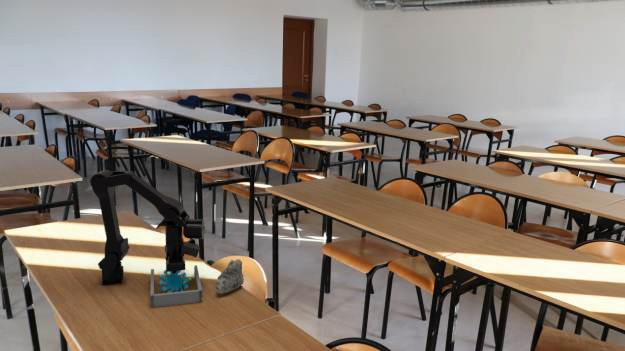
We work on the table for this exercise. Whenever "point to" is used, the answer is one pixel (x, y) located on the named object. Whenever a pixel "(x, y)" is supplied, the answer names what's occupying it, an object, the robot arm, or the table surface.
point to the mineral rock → (230, 277)
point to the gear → (174, 281)
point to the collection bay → (176, 294)
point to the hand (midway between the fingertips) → (175, 278)
